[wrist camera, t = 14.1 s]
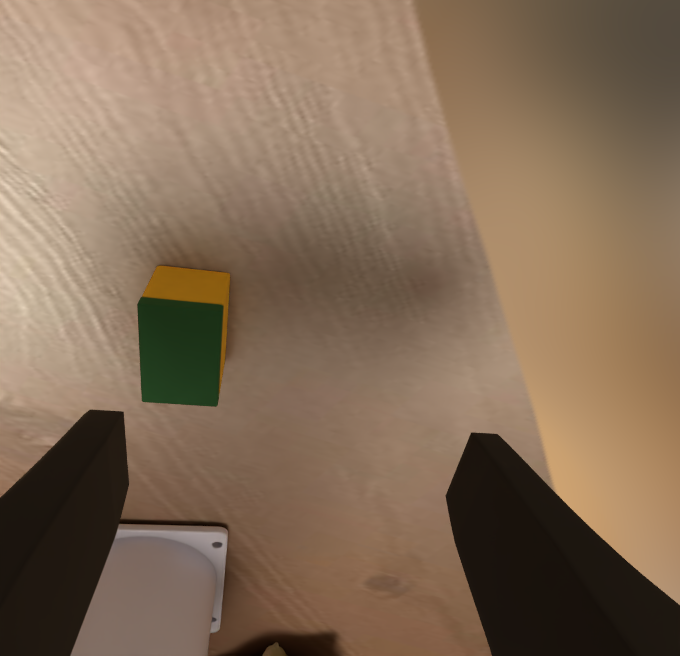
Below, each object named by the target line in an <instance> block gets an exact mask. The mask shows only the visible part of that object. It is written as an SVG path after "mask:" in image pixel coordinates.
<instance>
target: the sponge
mask: <svg viewBox="0 0 680 656" xmlns="http://www.w3.org/2000/svg"><path fill="white" fill-rule="evenodd" d="M229 288H230V274H229V273H225V272H216V271H206V270H197V269H188V268H179V267H169V266H160V265H159V266H157V267H156V269H155V271H154V273H153V275H152V277H151V279H150V281H149V283H148V285H147V287H146V289H145V291H144V293H143V295H142V297H141V298H140V300H139V302H138V304H137V306H138V327H139V349H140V370H141V392H142V402H152V403H168V404H183V405H199V406H215V407H216V406H217V405H218V400H219V393H220V387H221V381H222V375H223V369H224V364H225V354H226V337H227V321H228V304H229Z"/></svg>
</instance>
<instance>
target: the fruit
mask: <svg viewBox="0 0 680 656" xmlns="http://www.w3.org/2000/svg"><path fill="white" fill-rule="evenodd" d="M262 656H287V655H286V654H285V652H284V650H283V649H282V648H281V647H279V645H278V643H277V642H275V643H274V644H273V645H272V646H268V647H267V648H266V650H265V652H264V653H263V655H262Z"/></svg>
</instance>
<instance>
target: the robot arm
mask: <svg viewBox="0 0 680 656" xmlns="http://www.w3.org/2000/svg"><path fill="white" fill-rule="evenodd" d="M128 486H129V478H128V465H127V451H126V438H125V425H124V412H121V411H104V410H89V411H88V412H86V413H85V414H84V415H83V416H82V417H81V418H80V419H79V420H78V421H77V422H76V423H75V424H74V425H73V427H72V428H71V429H70V430H69V431H68V432H67V433H66V434H65V435H64V436H63V437H62V438H61V439H60V440H59V441H58V442H57V443H56V444H55V445H54V446H53V447H52V448H51V449H50V450H49V451H48V452H47V453H46V454H45V455H44V456H43V457H42V458H41V459H40V460H39V461H38V462H37V463H36V464H35V465H34V466H33V467H32V468H31V469H30V470H29V471H28V472H27V473H26V474H25V475H24V476H23V477H22V478H20V479H19V480H18V481H17V482H16V483H15V484H14V485H13V486H12V487H11V488H10V489H9V490H8V491H7V492H6V493H5V494H4V495H3V496H1V497H0V656H207V655H208V647H209V638H210V633H215V632H217V631H218V630H219V629H220V624H221V612H222V600H223V588H224V577H225V565H226V553H227V541H228V531H227V530H226V529H225V528H223V527H219V526H183V525H145V524H119V522H120V518H121V514H122V510H123V506H124V502H125V498H126V494H127V490H128ZM446 500H447V506H448V511H449V517H450V522H451V527H452V531H453V536H454V541H455V544H456V547H457V550H458V554H459V557H460V560H461V563H462V566H463V569H464V572H465V575H466V578H467V581H468V584H469V587H470V590H471V593H472V596H473V599H474V602H475V605H476V608H477V611H478V614H479V617H480V620H481V623H482V626H483V629H484V632H485V635H486V638H487V641H488V644H489V647H490V650H491V654H492V656H680V605H679V604H678V603H676V602H675V601H674V600H673V599H671V598H670V597H669V596H668V595H666V594H665V593H664V592H663V591H661V590H660V589H659V588H658V587H657V586H655V585H654V584H653V583H652V582H651V581H649V580H648V579H647V578H646V577H645V576H643V575H642V574H641V573H640V572H639V571H638V570H636V569H635V568H634V567H633V566H632V565H631V564H629V563H628V562H627V561H626V560H625V559H624V558H622V556H621V555H619V554H618V553H617V552H616V551H615V550H614V549H613V548H612V547H611V546H610V545H609V544H607V543H606V542H605V541H604V540H603V539H602V538H601V537H600V536H599V535H598V534H596V533H595V531H593V530H592V529H591V528H590V527H589V526H588V525H587V524H586V523H585V522H584V521H583V520H582V519H581V518H580V517H579V516H578V515H577V514H576V513H575V512H574V511H573V510H572V509H571V508H570V507H569V506H568V505H567V504H566V503H565V502H564V501H563V500H562V499H561V498H560V497H559V496H558V495H557V494H556V493H555V492H554V491H553V490H552V489H551V488H550V487H549V486H548V485H547V484H546V483H545V482H544V481H543V480H542V479H541V478H540V477H539V476H538V475H537V474H536V473H535V472H534V470H533V469H532V468H531V467H530V466H529V465H528V464H527V463H526V462H525V461H524V460H523V459H522V458H521V457H520V456H519V455H518V454H517V453H516V452H515V451H514V450H513V449H512V448H511V447H510V446H509V445H508V444H507V443H506V442H505V441H504V440H503V439H502V438H501V437H500V436H499V435H498V434H488V433H471V435H470V437H469V440H468V442H467V444H466V447H465V449H464V452H463V454H462V457H461V459H460V462H459V464H458V467H457V469H456V472H455V474H454V477H453V479H452V481H451V484H450V486H449V489H448V491H447V494H446Z"/></svg>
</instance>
